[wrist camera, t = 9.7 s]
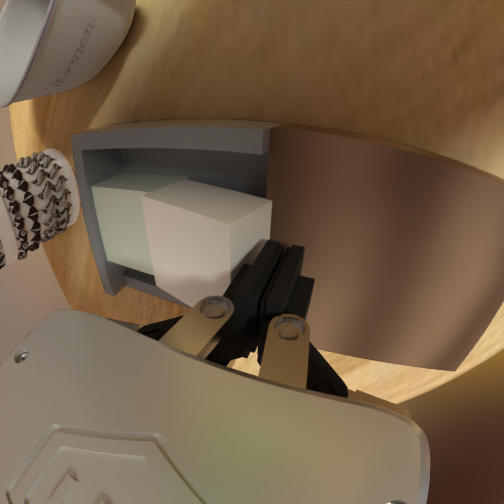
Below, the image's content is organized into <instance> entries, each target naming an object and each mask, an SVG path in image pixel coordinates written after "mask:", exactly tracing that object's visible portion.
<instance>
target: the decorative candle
mask: <svg viewBox="0 0 504 504" xmlns="http://www.w3.org/2000/svg"><path fill="white" fill-rule="evenodd" d="M79 214H80V195H79V189H78V184H77V179H76V177H75V174H74V172H73V169H72V166H71V164H70V163H69V161H68V160H67V159H66V157H65V156H64V154H63V153H62V152H60V151H59V150H57V149H55V148H50V149H45V150H44V151H43V152H42V151H41V152H39V153H38V154H37V153H36V152H34V153H33V154H32V157H31V158H30V157H29V156H28V157H26V158H23V157H22V158H20V159H19V162H18V163H17V164H16V165H15V166H14V165H13V164H11V165H5V166H4V168H3V171H2V172H0V269H1V268H2V267H3V268H5V267H7V266H8V265H9V264H11V263H12V262H13V261H14V260H16V259H20V260H21V259H24V258H26V257H27V252H28V250H30V251H34V250H37V249H38V248H39V243H40V242H48V241H50V240H52V239H53V238H54V237H55V235H57V234H59V233H62V232H64V231H65V230H66V228H67V227H69V226H71V225H73V224H74V223H76V221H77V219H78V216H79Z"/></svg>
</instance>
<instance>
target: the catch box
mask: <svg viewBox="0 0 504 504" xmlns="http://www.w3.org/2000/svg"><path fill="white" fill-rule="evenodd" d="M281 124H285V123H279V122H268V121H254V120H235V119H169V120H151V121H137V122H126V123H117V124H112V125H107V126H103V127H99V128H96V129H92V130H88V131H85V132H81V133H78V134H74V135H71V140H72V149H73V157H74V165H75V171H76V178H77V184H78V189H79V195H80V200H81V205H82V210H83V214H84V219H85V223H86V227H87V232H88V236H89V239H90V243H91V247H92V251H93V254H94V258H95V261H96V265H97V268H98V271H99V274H100V278H101V281H102V284H103V287H104V290H105V293H107V294H110V295H112V296H115V295H116V294H117V293H118V292H119V291H120V290H121V289H122V288H124V287H125V286H129V287H132V288H134V289H137V290H140V291H142V292H145V293H148V294H151V295H154V296H156V297H159V298H162V299H165V300H168V301H171V302H174V303H177V304H180V305H183V306H186V307H189V308H192V307H190V306H189V305H187V304H185V303H184V302H182V301H180V300H179V299H177V298H175V297H174V296H172V295H171V294H169V293H167V292H166V291H164V290H162V289H161V288H159V287H158V286H156V281H155V276H154V275H151V274H148V273H145V272H141V271H138V270H135V269H132V268H129V267H126V266H123V265H120V264H117V263H114V262H111V261H108V260H107V256H106V252H105V248H104V245H103V241H102V236H101V232H100V228H99V223H98V219H97V214H96V209H95V204H94V199H93V193H92V188H91V186H93V185H95V184H98V183H100V182H102V181H104V180H106V179H108V178H110V177H113V176H115V175H117V174H119V173H122V172H129V173H147V174H161V175H174V176H186V177H188V180H190V181H195V182H199V183H204V184H208V185H212V186H216V187H221V188H225V189H229V190H233V191H237V192H241V193H245V194H249V195H253V196H256V197H260V198H264V199H266V192H267V175H268V158H269V141H270V128H271V127H274V126H278V125H281Z"/></svg>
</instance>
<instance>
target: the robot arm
mask: <svg viewBox="0 0 504 504" xmlns="http://www.w3.org/2000/svg"><path fill="white" fill-rule="evenodd" d="M304 251H305V247H303V246H298V245H292V247H287V248H286V250H285V252H284V246H282V245H281V243H280V242H278V241H273V240H267V242H266V243H265V245H264V247H263V248H262V250H261V251H260V253H259V255H258V256H257V258H256V259H255V261H254V263H253V264H252V265H250V264H244V265H243V266H242V267H241V269H240V270H239V272H238V273H237V275H236V276H235V278H234V279H233V281H232V282H231V284H230V285H229V287H228V288H227V290H226V291H225V293H224V294H223V296H208V297H206V298H203V299H202V300H200V301H199V302H198V303H197V304H196V305H195V306H194V307H193V308H192V309H191V310H190V311H189V312H188V313H187V314H186V315H184V316H180V317H176V318H172V319H168V320H165V321H161V322H157V323H152V324H149V325H146V326H143V327H142V328H141V327H140V325H138V324H133V323H128V322H123V321H118V320H113V319H109V318H103V317H101V316H99V315H96V314H93V313H90V312H86V311H81V310H75V309H63V310H58V311H55V312H53V313H51V314H50V315H49V316H47V317H46V318H45V319H43V320H42V321H41V322H40V323H39V324H38V325H36V327H34V328H33V329H32V330H31V331H30V332H29V333H28V334H27V335H26V336H25V337H24V338H23V339H22V340H21V341H20V342H19V343H18V344H17V345H16V347H15V348H14V349H13V350H12V351H11V352H10V353H9V354H8V355H7V357H6V358H5V359H4V360H3V361H2V363H1V364H0V504H426V500H427V494H428V486H429V476H430V453H429V446H428V441H427V438H426V436H425V434H424V432H423V431H422V429H421V428H420V427H419V426H418V425H417V424H415V423H414V422H413V421H411V417H410V414H409V412H408V411H407V410H406V409H405V408H404V407H402V406H400V405H397V404H394V403H391V402H389V401H386V400H383V399H380V398H378V397H375V396H372V395H370V394H367V393H365V392H362V391H359V390H356V392H354V391H352V390H349V389H348V388H347V386H346V384H345V383H344V382H343V380H342V379H341V378H340V377H339V376H338V374H337V373H336V372H335V371H334V370H333V368H332V367H331V366H330V365H329V364H328V362H327V361H326V360H325V359H324V358H323V356H322V355H321V354H320V353H319V352H318V350H317V349H316V348H315V347H314V346H313V344H312V343H311V342H310V341H309V339H310V328H309V325H308V323H307V322H306V321H305V320H306V316H307V313H308V309H309V305H310V301H311V297H312V292H313V287H314V282H315V279H314V278H309V277H304V276H301V270H302V264H303V258H304ZM257 346H258V358H257V362H258V363H259V365H260V371H259V376H255V375H252V374H248V373H245V372H242V371H239V370H235V369H232V367H233V365H234V363H235V359H238V358H241V357H244V358H248V356H249V354H250V352H253V353H254V352H255V351H256V349H257ZM389 502H390V503H389Z"/></svg>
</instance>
